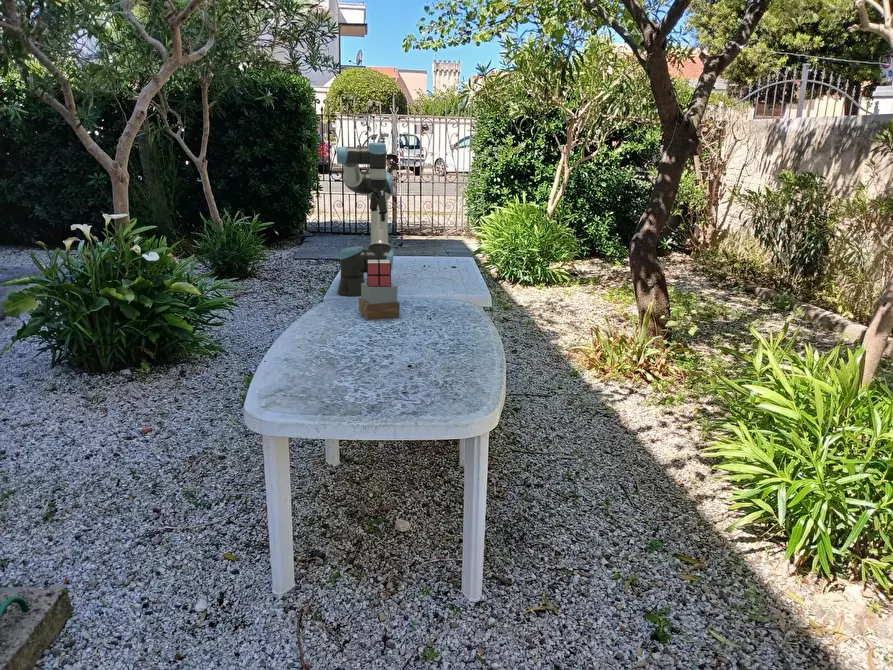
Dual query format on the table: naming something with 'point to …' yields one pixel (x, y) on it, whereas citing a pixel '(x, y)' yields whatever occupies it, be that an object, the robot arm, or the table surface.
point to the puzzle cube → (378, 273)
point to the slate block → (378, 294)
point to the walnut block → (379, 310)
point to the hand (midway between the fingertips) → (378, 227)
